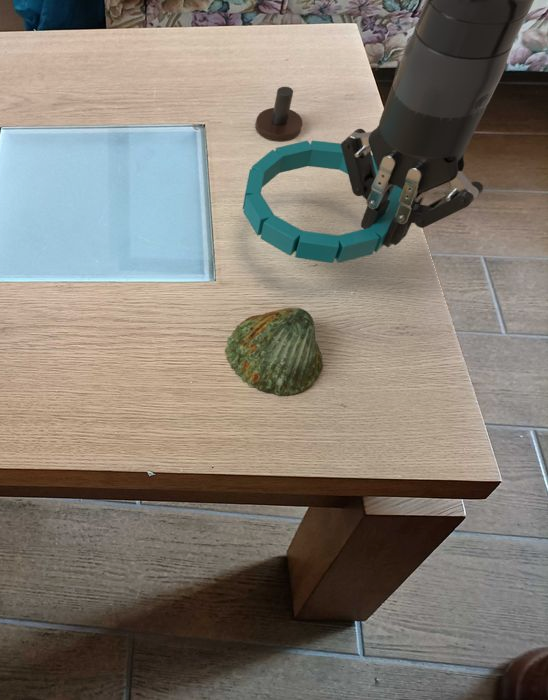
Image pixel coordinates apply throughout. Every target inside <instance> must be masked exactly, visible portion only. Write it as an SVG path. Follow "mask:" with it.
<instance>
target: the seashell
mask: <svg viewBox="0 0 548 700" xmlns="http://www.w3.org/2000/svg"><path fill="white" fill-rule="evenodd" d="M226 343H227V346H226V347H225V349H224V352H225V354H226V359H227V361H228V363H229V366H230V368H231V369H232V370H234V371H235V374H236V375H237V376H239V377H240V378H241V379H242V381H243V382H244V383H247V385H248V386H250V387H251V388H256V389H257V390H258V391H261V392H264V393H267V394H273V395H276V396H280V397H281V396H289V395H291V396H292V395H296V394H300V393H301V392H304V391H306V390H308V389H309V388H311V387H312V385H314V383H315V382H316V381H317V380H318V378H319V376H320V375H321V373H322V370H323V368H324V362H323V354H322V352H321V350H320V347H319V343H318V342H317V341H316V328H315V322H314V318H313V316H312V315H311V314H310V313H309V312H308V311H307V310H305V309H303V308H302V307H301V308H300V307H285V308H279V309H277V310H273V311H270V312H265V313H263V314H257V315H256V314H255V315H251V316H248V317H247V318H245V320H244V321H242V322H240V323H238V324H237V325H236V328H235V329H234V330H233V331H232V333H231V335H230V336H229V337H228V338H227V341H226Z"/></svg>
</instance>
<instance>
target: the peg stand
mask: <svg viewBox="0 0 548 700" xmlns="http://www.w3.org/2000/svg"><path fill="white" fill-rule="evenodd" d="M293 96H294V90H293V88H291V87H289V86H280V87H279V88H278V89H277V90H276V95H275V101H274V106H273V107H270V108H267V109H264V110H262V111H261V112H260V113H259V114H258V115H257V117H256V121H255V130H256V132H257V134H258V135H260V137H262V138H264V139H266V140H269V141H272V142H273V141H274V142H286V141H290V140H293V139H295V138H296V137H298V136H299V135H300V133H301V131H302V128H303V117H301V115H300V114H299V113H297V112H296V111H294V110H292V109H291V105H292V101H293Z"/></svg>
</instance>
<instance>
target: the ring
mask: <svg viewBox="0 0 548 700" xmlns="http://www.w3.org/2000/svg"><path fill="white" fill-rule="evenodd" d="M371 156H372V160H373V164H374V168H375V173H376V175H377V173H378V170H377V167H376V164H375V161H374V158H373V155H372V154H371ZM306 167H312V168H320V169H328V170H339V171H341V172H342V173H345V174H346V175H348V171H347V168H346V164H345V160H344V156H343V152H342V148H341V143H340V142H329V141H321V140H311V141H310V142H309V141H308V140H304V141H299V142H295V143H291V144H287V145H282V146H277V147H276V148H275V150H274V149H272V150H270V151H269V152H268V153H266V154H265V155H264V156H263V157H262V158H260V159H259V160H258V161H256V162H255V163H253V165H252V166H251V168H250V169H249V171H248V177H247V181H246V187H245V193H244V196H243V197H244V198H243V204H242V209H243V215H244V216H245V217H246V219H247V221H248V222H249V224H250V226H251V228H252V229H253V231H254V233H255V235H256V236H260V240H262V241H264V242H266V243H268V244H269V245H271V246H273V247H274V248H276V249H277V250H279V251H281V252H283V253H285V254H286V255H287V256H288V255H289V256H290V257H291V256H292V255H293V254H294V253H295V254H294V258H296V259H301V260H308V261H315V262H316V261H317V262H323V263H330V264H334V263H335V260H336V262H337V264H339V263H345V262H348V261H352V260H356V259H360V258H364V257H368V256H372V255H373V254H374V252H375V253H377V252H379V250H381V248H382V247H384V245H382V244H383V241H384V239H385V236H386V234H387V230H388V228H389V226H390V223H391V221H392V219H393V218H394V217H395V215H396V213H397V210H398V207H399V204H400V203H399V199H400V196H401V193H402V189H401V188H400V187H399V186H397V185H395V186H394V189H393V191H392V193H391V195H390V196H389V197H388V200H390V203H389V205H388V208H387V210H386V213H385V214H384V215H383V216H382V217H381V218H380V219H379V220H378V221H377V222H375V223H374V224H373V225H372V226H371V227H370V228H367V229H363V228H362V229H359V230H355V231H351V232H347V233H344V234H338V235H336V234H330V233H329V234H328V233H323V232H316V231H315V232H314V231H307V230H302V229H300V228H298V227H296V226H295V225H293V224H292V223H289V222H288V221H286V220H284V219H282V218H280V217H278V215H277V216H276V215H275V214H274V212H273V211H272V209H271V208H270V205H269V204H268V202H267V201H266V199H265V198H264V196H263V195H262V188H263V187H265V186H266V185H267V184H268V183H270V182H271V181H272V180H273V179H274V178H275V177H277V176H278V175H279V174H282V173H286V172H289V171H294V170H298V169H302V168H306Z"/></svg>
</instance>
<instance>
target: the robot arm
mask: <svg viewBox="0 0 548 700" xmlns="http://www.w3.org/2000/svg"><path fill="white" fill-rule="evenodd" d="M534 1H535V0H424V3H423V6H422V8H421V11H420V15H419V17H418V20H417V23H416V25H415V27H414V30H413V32H412V35H411V37H410V38H409V40H408V42H407V44H406V46H405V48H404V51H403V53H402V56H401V59H400V61H399V62H398V63H397V65H396V68H395V72H394V78H393V82H392V84H391V87H390V90H389V93H388V95H387V98H386V99H387V100H386V102H385V105H384V107H383V111H382V113H381V116H380V119H379V122H378V125H377V127H376V128H375V129H373V130H372V131H370V132H369V131H368V132H366V130H365V129H363V128H356V130H354V131H353V132H352V133H351V134H349V135H348V136H347V137H346V138H345V139H344V140H343V141H341V143H340V144H341V148H342V152H343V156H344V160H345V164H346V168H347V171H348V174H347V175H348V179H349V183H350V186H351V190H352V193H353V194H354V195H355V196H357V197H362V198H364V199H365V200H366V209H365V211H364V214H363V216H362V219H361V222H360V227H361V228H362V229H367V228H370V227H371V226H372V225H373V224H374V223H375V222H377V221H378V220H379V219H380V218H381V217H382V216H383V215H384V214H385V213H386V210H387V208H388V205H389V203H390V200H388V197H389V196H390V195H391V193H392V191H393V189H394V186H395V185H397V186H399V187H400V188H401V189H402V193H401V196H400V199H399V203H400V204H399V207H398V210H397V213H396V215H395V217H394V218H393V219H392V221H391V223H390V226H389V228H388V230H387V234H386V236H385V239H384V241H383V244H382V245H383V247H386V248H390V247H392V245H393V246H397V245H398V244H400V242H401V241H402V240H403V239H404V238H406V236H407V235H408V233H409V230H410V228H411V226H412V224H415V226H416V227H418V228H421V229H424V228H426V227H428V226H430V225H433V224H434V223H436V222H439V221H441V220H443V219H445V218H447V217H449V216H451V215H453V214H455V213H457V212H459V211H461V210H463V209H465V208H467V207H469V206H470V204H472V203H473V201H475V199H477V198H478V196H480V194H481V193H482V192H483V191H484V185H483V184H482V183H481V182H479V181H477V180H476V181H470V180H469V178H468V177H467V176H466V175H465V173H464V172H463V170H464V169H465V168H464V167H465V152H466V150H467V148H468V146H469V144H470V142H471V140H472V137H473V136H474V133H475V131H476V130H477V127H478V126H479V123H480V121H481V119H482V118H483V115H484V113H485V111H486V109H487V108H488V105H489V103H490V101H491V99H492V97H493V94H494V93H495V91H496V88H497V87H498V85H499V83H500V80H501V78H502V76H503V74H504V71H505V69H506V65H507V64H508V59H509V56H510V53H511V51H512V48H513V45H514V43H515V42H516V39H517V37H518V35H519V33H520V31H521V29H522V27H523V25H524V23H525V20H526V18H527V17H528V14H529V12H530V11H531V9H532V6H533V3H534ZM371 155H373V158H374V161H375V164H376V167H377V170H378V173H377V175H376V173H375V168H374V164H373V160H372V156H371ZM447 183H449V187H448V188H447V189H446V190H445V192H444V196H443V197H441V198H439V199H437V200H435V201H432V202H431V203H430V204H428V205H425V204H423V202H424V199H425V197H426V194H428V192H429V191H431V190H434V189H435V188H438V187H440V186H442V185H445V184H447Z"/></svg>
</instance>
